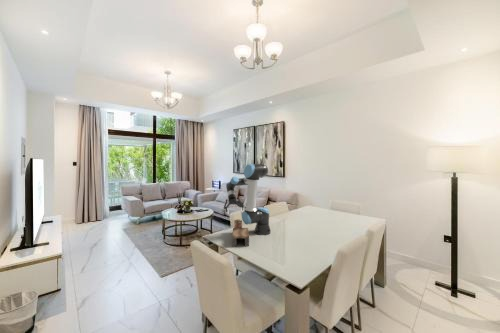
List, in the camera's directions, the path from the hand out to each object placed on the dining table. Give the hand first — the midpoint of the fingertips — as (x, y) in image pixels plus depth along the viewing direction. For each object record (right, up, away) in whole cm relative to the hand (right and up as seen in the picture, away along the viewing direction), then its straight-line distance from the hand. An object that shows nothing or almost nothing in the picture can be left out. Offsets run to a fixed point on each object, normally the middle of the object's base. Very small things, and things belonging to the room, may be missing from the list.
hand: (235, 214), depth 210 cm
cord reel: (+3, -16, -9) cm, 19 cm away
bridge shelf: (+6, -17, -28) cm, 33 cm away
